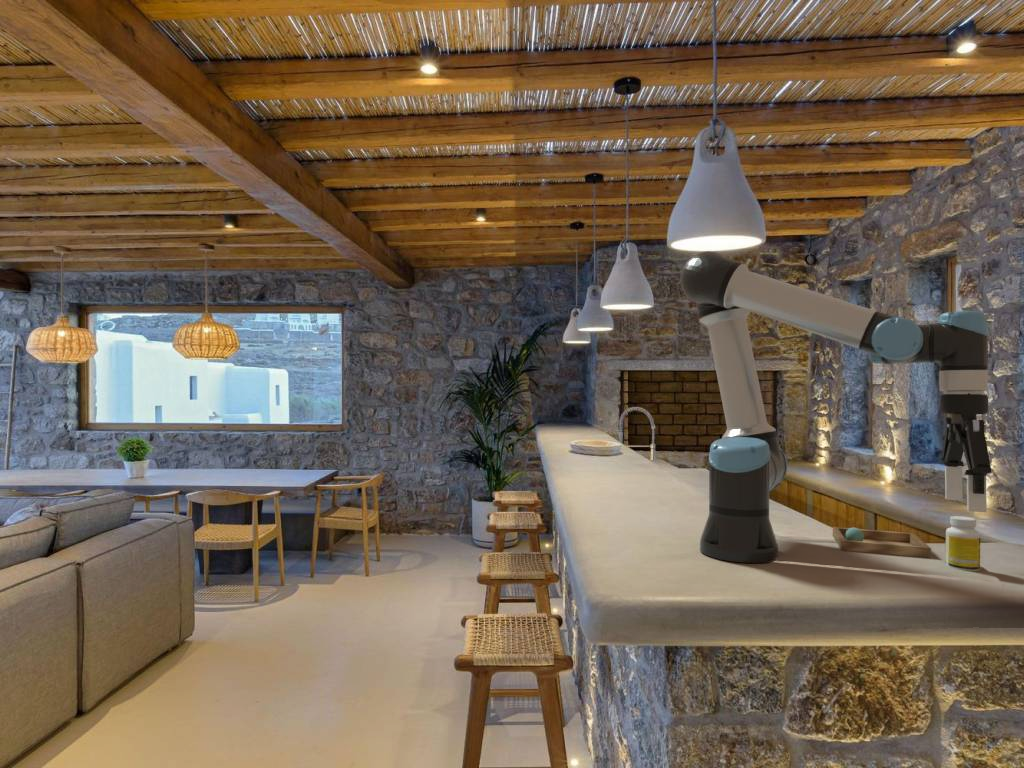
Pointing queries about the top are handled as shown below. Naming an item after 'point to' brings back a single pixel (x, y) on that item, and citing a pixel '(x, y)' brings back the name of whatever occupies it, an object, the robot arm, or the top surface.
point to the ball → (854, 534)
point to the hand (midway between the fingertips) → (964, 505)
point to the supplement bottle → (962, 544)
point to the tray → (883, 543)
